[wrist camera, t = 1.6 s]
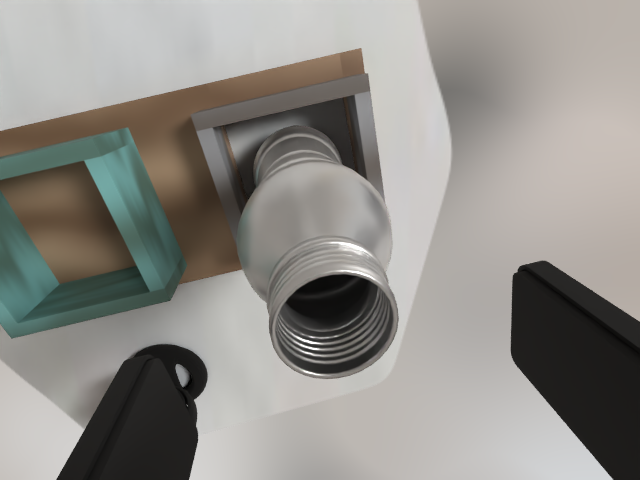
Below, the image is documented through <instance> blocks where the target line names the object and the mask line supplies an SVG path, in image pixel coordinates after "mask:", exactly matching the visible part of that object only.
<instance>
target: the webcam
mask: <svg viewBox="0 0 640 480" xmlns="http://www.w3.org/2000/svg"><path fill="white" fill-rule="evenodd" d="M144 355H152V356H153V357H154V358H155V359H156V358H159V359H160V360H161V361H162V362H163V364H164V366H165V368H166V370H167V372H168V374H169V376H170V378H171V380H172V382H173V383H174V385H175V387H176V389H177V391H178V393H179V395H180V397H181V399H182V401H183V403H184V404H185V406H186V408H187V410H188V412H189V414H190V416H191V418H192V420H193V422H194V423H195V425H196V422H197V408H196V404H195V402H194V399H196V398H197V397H198V396H199V395H200V394H201V393H202V392H203V390H204V388H205V386H206V383H207V376H208V374H207V369H206V367H205V365H204V363H203V361H202V360H201V359H200V358H199V357H198V356H197V355H196V354H195V353H193V352H192V351H190V350H188V349H185V348H182V347H179V346H176V345H156V346H152V347H149V348H146V349H144V350H142V351H140V352H139V353H137V354H136V355H135V356H134V358H135V357H140V356H144ZM176 364H181V365H183V366H184V367H186V368H187V369H188V370H189V372H190V373H191V375H192V382H191V384H190V385H189V386H188V387H187V388H185V389H183V388H182V386H181V384H180V382H179V379H178V376H177V374H176V369H175V367H176ZM187 405H188V407H187Z"/></svg>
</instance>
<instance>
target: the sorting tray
mask: <svg viewBox="0 0 640 480" xmlns="http://www.w3.org/2000/svg"><path fill="white" fill-rule="evenodd" d="M342 97H343V100H344V107H345V113H346V119H347V125H348V131H349V137H350V143H351V149H352V155H353V161H354V167H355V172H356V173H358V174H359V175H361V176H362V177H363V178H365V179H366V180H367V181H369V182H370V183H371V184H372V186H373V187H374V188H375V189H376V190H377V191H378V192H379V194H380V195H381V197H382V199H383V201H384V203H385V198H384V191H383V183H382V176H381V168H380V161H379V153H378V146H377V138H376V131H375V123H374V116H373V108H372V101H371V93H370V86H369V78H368V74H365V72H364V64H363V57H362V50H361V48H360V49H355V50H351V51H347V52H342V53H338V54H334V55H329V56H325V57H321V58H316V59H312V60H307V61H303V62H299V63H294V64H290V65H286V66H281V67H277V68H273V69H268V70H264V71H260V72H255V73H251V74H247V75H242V76H238V77H234V78H229V79H225V80H221V81H216V82H212V83H207V84H203V85H199V86H194V87H190V88H186V89H181V90H177V91H173V92H168V93H164V94H160V95H155V96H151V97H147V98H142V99H138V100H134V101H129V102H125V103H121V104H116V105H112V106H107V107H103V108H99V109H94V110H90V111H86V112H81V113H77V114H73V115H68V116H64V117H60V118H55V119H51V120H47V121H42V122H38V123H34V124H29V125H25V126H21V127H16V128H12V129H7V130H3V131H0V324H1V325H2V327H3V328H4V329H5V331H6V332H7V333H8V335H9V336H10V337H11V339H12V338H16V337H20V336H24V335H28V334H32V333H37V332H41V331H45V330H49V329H53V328H58V327H62V326H66V325H70V324H74V323H78V322H83V321H87V320H91V319H95V318H99V317H103V316H108V315H112V314H116V313H120V312H124V311H129V310H133V309H137V308H141V307H145V306H149V305H154V304H158V303H162V302H166V301H170V300H171V298H172V296H173V294H174V292H175V290H176V288H177V286H178V284H182V283H187V282H191V281H195V280H199V279H203V278H208V277H212V276H216V275H220V274H224V273H228V272H233V271H237V270H241V269H242V266H241V263H240V260H239V256H238V252H237V239H236V238H237V231H238V224H239V221H240V218H241V215H242V213H243V210H244V208H245V206H246V203H247V202H248V200H247V197H246V194H245V190H244V187H243V184H242V181H241V178H240V175H239V171H238V168H237V165H236V162H235V159H234V155H233V152H232V149H231V146H230V143H229V139H228V136H227V133H226V130H225V127H224V125H226V124H230V123H235V122H239V121H243V120H247V119H252V118H256V117H260V116H265V115H269V114H273V113H278V112H282V111H286V110H291V109H295V108H299V107H303V106H308V105H312V104H316V103H321V102H325V101H329V100H334V99H338V98H342Z"/></svg>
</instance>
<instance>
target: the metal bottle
mask: <svg viewBox="0 0 640 480" xmlns="http://www.w3.org/2000/svg"><path fill="white" fill-rule="evenodd" d="M253 178H254V183H255V187H256V189H255V190H254V192H253V193H252V195H251V197H250V198H249V200H248V202H247V203H246V206H245V208H244V210H243V213H242V215H241V218H240V221H239V224H238V231H237V238H236V239H237V252H238V256H239V260H240V263H241V266H242V269H243V271H244V273H245V276H246V277H247V279H248V281H249V283H250V285H251V287H252V288H253V289H254V291H255V292H256V293H257V294H258V295H259V297H260V298H261V299H263V300H264V301H265V302H266V303H267V309H268V313H269V333H270V336H271V340H272V344H273V347H274V349H275V351H276V353H277V355H278V356H279V358H280V359H281V360H282V361H283V362H284V363H285V364H286V365H287V366H289V367H290V368H291V369H293V370H294V371H296V372H298V373H301V374H303V375H306V376H309V377H313V378H321V379H333V378H341V377H345V376H350V375H352V374H355V373H357V372H360V371H362V370H364V369H365V368H367V367H369V366H371V365H372V364H373V363H374V362H376V361H377V360H378V359H379V358H380V357H381V356H382V355H383V354H384V353H385V352H386V351H387V350H388V348H389V346H390V345H391V343H392V341H393V340H394V337H395V334H396V332H397V327H398V320H399V318H398V308H397V304H396V300H395V297H394V294H393V292H392V291H391V289H390V287H389V285H388V279H387V276H386V273H385V272H386V270H387V267H388V264H389V261H390V258H391V251H392V231H391V220H390V216H389V213H388V210H387V206H386V204H385V203H384V201H383V199H382V197H381V195H380V194H379V192H378V191H377V190H376V189H375V188H374V187H373V186H372V184H371V183H370V182H369V181H367V180H366V179H365V178H363V177H362V176H361V175H359V174H358V173H356V172H355V171H354V170H352V169H350V168H348V167H346V166H343V165H342V160H341V157H340V154H339V152H338V150H337V148H336V146H335V145H334V143H333V142H332V141H331V140H330V139H329V138H328V137H327V136H326V135H325V134H323V133H322V132H320V131H318V130H316V129H314V128H311V127H307V126H290V127H285V128H283V129H280V130H278V131H276V132H275V133H273V134H272V135H271V136H269V137H268V138H267V139H266V140H265V141H264V143H263V144H262V145H261V147H260V149H259V150H258V152H257V155H256V158H255V160H254V167H253Z"/></svg>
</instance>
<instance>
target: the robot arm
mask: <svg viewBox="0 0 640 480" xmlns="http://www.w3.org/2000/svg"><path fill="white" fill-rule="evenodd" d="M511 325H512V326H511V355H512V358H513V361H514V362H515V364H516V365H517V367H518V368H519V369H520V370H521V371H522V373H523V374H524V375H525V376H526V377H527V378H528V380H529V381H530V382H531V383H532V384H533V385H534V387H535V388H536V389H537V390H538V391H539V392H540V394H541V395H542V396H543V397H544V398H545V399H546V401H547V402H548V403H549V404H550V406H551V407H552V408H553V409H554V410H555V411H556V412H557V414H558V415H559V416H560V417H561V419H562V420H563V421H564V422H565V423H566V424H567V426H568V427H569V428H570V429H571V430H572V431H573V433H574V434H575V435H576V436H577V437H578V439H579V440H580V441H581V442H582V443H583V444H584V445H585V447H586V448H587V449H588V450H589V451H590V453H591V454H592V455H593V456H594V457H595V459H596V460H597V461H598V462H599V463H600V464H601V466H602V467H603V468H604V469H605V470H606V471H607V473H608V474H609V475H610V476H611V477H612V478H613V480H640V322H639V321H638V320H636V319H635V318H633V317H631V316H630V315H628V314H627V313H625V312H624V311H622V310H621V309H619V308H618V307H616V306H615V305H613V304H611V303H610V302H608V301H607V300H605V299H604V298H602V297H601V296H599V295H598V294H596V293H595V292H593V291H592V290H590V289H589V288H587V287H586V286H584V285H582V284H581V283H579V282H578V281H576V280H575V279H573V278H572V277H570V276H569V275H567V274H566V273H564V272H563V271H561V270H559V269H558V268H556V267H555V266H553V265H552V264H550V263H549V262H547V261H539V262H534V263H530V264H526V265H522V266H520V267H519V269H518V272H517V273H514V275H513V284H512V324H511ZM197 443H198V431H197V428H196V425H195V423H194V422H193V420H192V418H191V416H190V414H189V412H188V410H187V408H186V406H185V404H184V403H183V401H182V399H181V397H180V395H179V393H178V391H177V389H176V387H175V385H174V383H173V382H172V380H171V378H170V376H169V374H168V372H167V370H166V368H165V366H164V364H163V362H162V361H161V360H160V359H159V358H156V359H155V358H154V357H153V356H152V355H144V356H140V357H135V358H131V359H127V360H125V361H124V362H123V364H122V365H121V367H120V369H119V371H118V372H117V374H116V376H115V378H114V379H113V381H112V383H111V385H110V386H109V388H108V390H107V392H106V393H105V395H104V397H103V399H102V400H101V402H100V404H99V406H98V407H97V409H96V411H95V413H94V414H93V416H92V418H91V420H90V421H89V423H88V425H87V427H86V429H85V430H84V432H83V434H82V436H81V437H80V439H79V441H78V443H77V444H76V446H75V448H74V450H73V452H72V453H71V455H70V457H69V458H68V460H67V462H66V464H65V465H64V467H63V469H62V471H61V472H60V474H59V476H58V478H57V480H189V477H190V473H191V468H192V464H193V460H194V456H195V452H196V447H197Z"/></svg>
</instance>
